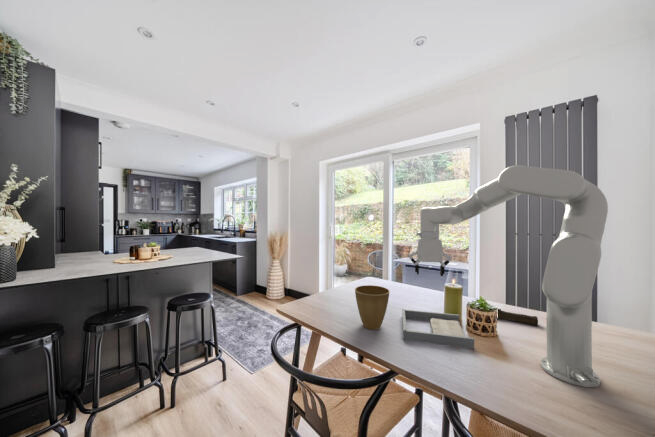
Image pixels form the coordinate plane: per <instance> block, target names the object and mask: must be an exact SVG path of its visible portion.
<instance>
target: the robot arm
mask: <svg viewBox="0 0 655 437" xmlns="http://www.w3.org/2000/svg"><path fill="white" fill-rule="evenodd" d="M521 195H524V196H525V195H526V196H531V197H535V198H536V197H537V198H543V199H548V200H554V201H557V202H561V203H562V204H563V206H564V214H563V217H562V221H561V222H562V224H561V228H560V231H559V234H558V237H557V239H556V240H554V241H553V243H552V244H551V247H550V250H549V253H548V256H547V262H546V266H545V269H544V274H543V278H542V282H541V289H542V292H543V294H544V295H545V298H546V357H542V358H541V359H540V366H541V368H542V369H543V370H544V371H545V372H546V373H548V374H549V375H550V376H553V377H554V378H557V379H559V380H561V381H564V382H566V383H568V384H571V385H575V386H579V387H584V388H585V387H586V388H596V387H599V386H600V385H601V377H599V375H598V374H597V373H596V372H594V369H593V361H592V360H593V356H592V355H593V354H592V353H593V352H592V350H593V347H592V346H593V345H592V344H593V343H592V336H593V335H592V326H593V325H592V324H593V322H592V321H593V317H592V316H593V315H592V312H593V310H592V307H593V306H592V304H593V302H592V301H593V300H592V299H593V296H592V295H593V288H594V285H595V281H596V277H597V275H598V270H599V266H600V263H601V259H602V247H601V245H602V240H603V235H604V232H605V227H606V224H607V223H606V222H607V218H608V214H609V213H608V212H609V211H608V210H609V205H608V201H607V200H608V199H607V198H606V196H605V194H604V192H602V190H601V189H600V188H599V187H598V186H597V185H595V184H594V183H592V182H590V181H589V180H587V179H585V178H584V177H583V176H582V175H581V174H580V173H577V171H576V172H575V171H573V170H569V169H558V168H549V167H548V168H547V167H538V166H528V165H523V164H522V165H520V164H518V165H517V164H516V165H512V166H508V167H506V168H505V169H503V170H502V171H501V172H500V174H499V176H498V177H497V178H495V179H493V180H491V181H489V182H487V183H486V184H484V185H482V186H479V187H477V188H476V189H475V190H474V192H473V194H472V195H471V196H470V197H469V198H468V199H465V200H464V201H461V202H460V203H458V204H456V205H453V206H451V205H444V206H442V205H441V206H437V207H436V206H435V207H434V206H432V207H431V206H428V207H426V206H425V207H422V208H421V209H420V222H419V223H420V227H419V228H420V231H419V232H417V233H416V236H418V237H419V238H418V241H417V248H416V250H415V251H413V252H411V253H408V257H409V259H410V261H411V263H413V265H414V272H415V273H416V275H419V274H420V266H419V264H420V263H421V262H422V263H434V264H435V263H437V264H438V263H439V264H440V265H439V275H440V276H441V277H443V276H444V275H445V267H446V266H447V265H448V264H450V262H451V261H452V258H453V256H451V255H449V254H448V253H445V252H443V251H444V249H443V248H444V247H443V243H442V241H443V240H442V239H441V238H440V225H445V226H446V225H457V224H460V223H462V222H465V221H467V220H469V219H472V218H474V217H476V216H478V215H480V214H481V213H485V212H486V211H488V210H489V209H491V208H494V207H496V206H499V205H500V204H504V203H505V202H507V201H510V200H512V199H514V198H517V197H519V196H521ZM414 256H416V257H417V258H416V259H414V258H413V257H414ZM444 257H445V258H446V260H444Z"/></svg>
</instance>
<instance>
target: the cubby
mask: <svg viewBox="0 0 655 437" xmlns="http://www.w3.org/2000/svg"><path fill="white" fill-rule="evenodd" d="M401 315H402V317H401V318H402V321H401V322H402V336H403V337H402V339H403V340H404V341H411V342H416V343H425V344H433V345H434V344H435V345H440V346H447V347H448V346H449V347H456V348H463V349H471V350H474V349H475V338H474V337H469V336H465V337H462V336H453V335H445V334H436V333H432V332H429V331H428V332H427V331H426V332H425V331H418V330H409V329H407V319H413V320H422V321H424V320H425V321H430V319H431V318H437V319H438V318H439V319H443V320H454V321H458V322H459V323H460V315H459V314H454V313H443V312H442V313H441V312H435V311H434V312H433V311H426V310H425V311H424V310H414V309H412V310H411V309H402V310H401Z"/></svg>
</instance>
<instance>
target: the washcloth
mask: <svg viewBox="0 0 655 437" xmlns="http://www.w3.org/2000/svg"><path fill="white" fill-rule="evenodd" d="M429 321H430V329H431V333H436V334H445V335H453V336H462V337H466V335H465V333H464V330H463V328H462V326H461V324H460V321H459V322H458V321H454V320H443V319H439V318H438V319H437V318H431V319H430V320H429Z"/></svg>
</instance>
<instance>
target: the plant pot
mask: <svg viewBox="0 0 655 437" xmlns="http://www.w3.org/2000/svg"><path fill="white" fill-rule="evenodd" d="M354 293H355V299H356V300H355V301H356V305H357V310H358V313H359V317H360V320H361V323H362V326H363V327H364V328H365V329H367V330H371V331H372V330H373V331H375V330H379V329H380V328H381V327H382V324H383V322H384V319H385V315H386V312H387V308H388V303H389V297H390V290H389V288H386V287H384V286H379V285H372V284H371V285H370V284H368V285H360V286H359V285H358V286H356V287H355V288H354Z"/></svg>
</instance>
